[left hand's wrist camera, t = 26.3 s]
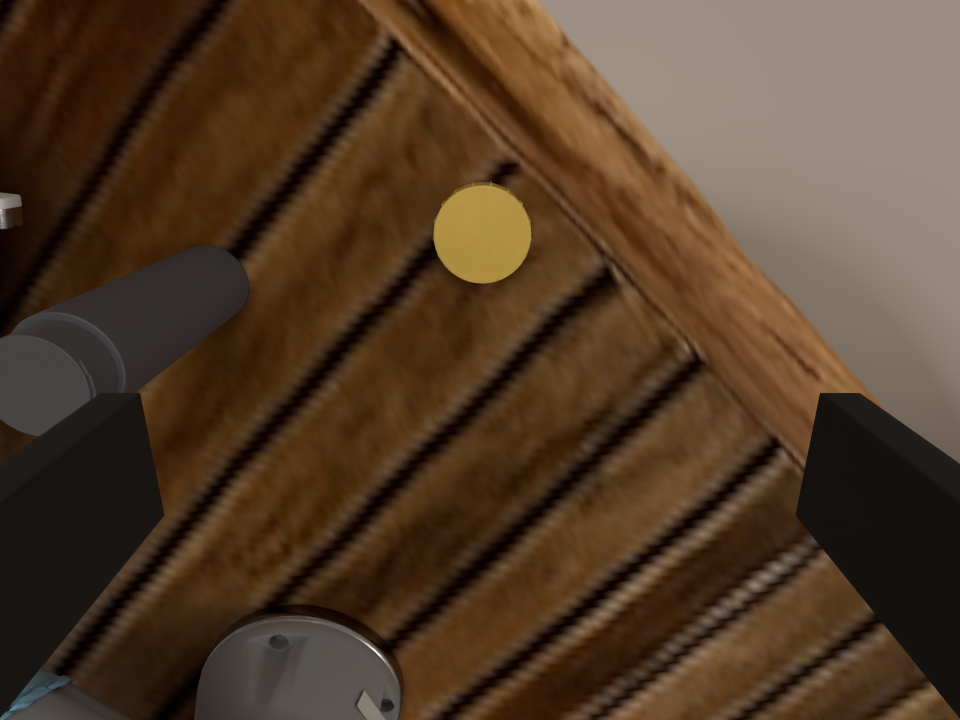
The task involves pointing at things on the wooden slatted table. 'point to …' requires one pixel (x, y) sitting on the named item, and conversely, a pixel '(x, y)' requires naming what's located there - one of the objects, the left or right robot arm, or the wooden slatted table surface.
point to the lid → (482, 232)
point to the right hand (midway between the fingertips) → (27, 305)
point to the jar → (115, 335)
